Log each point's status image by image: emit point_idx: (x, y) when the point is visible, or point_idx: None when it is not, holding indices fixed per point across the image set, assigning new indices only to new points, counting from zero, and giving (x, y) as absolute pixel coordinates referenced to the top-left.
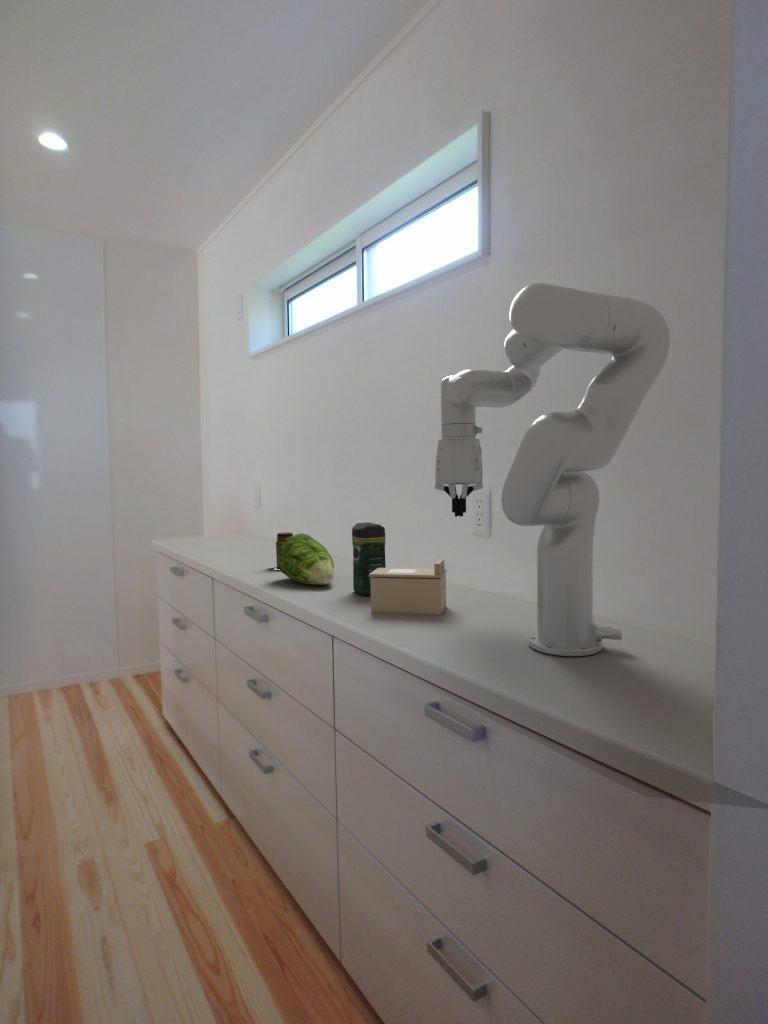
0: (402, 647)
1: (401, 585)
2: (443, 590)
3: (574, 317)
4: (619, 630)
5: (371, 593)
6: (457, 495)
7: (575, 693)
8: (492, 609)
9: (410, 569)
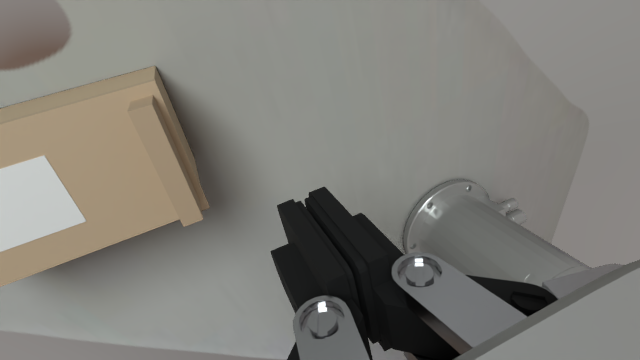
0: (241, 352)
1: None
2: (178, 131)
3: None
4: (523, 222)
5: None
6: (367, 342)
7: None
8: (289, 42)
9: (8, 158)
